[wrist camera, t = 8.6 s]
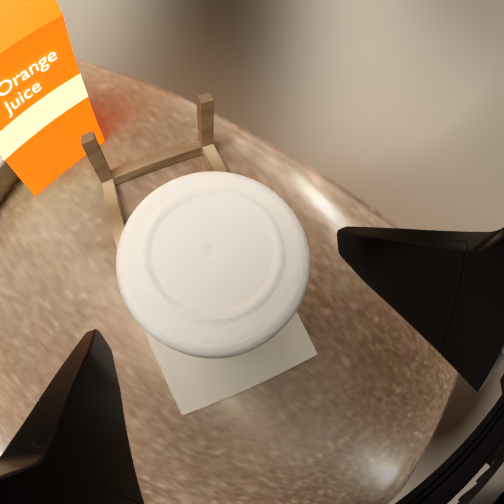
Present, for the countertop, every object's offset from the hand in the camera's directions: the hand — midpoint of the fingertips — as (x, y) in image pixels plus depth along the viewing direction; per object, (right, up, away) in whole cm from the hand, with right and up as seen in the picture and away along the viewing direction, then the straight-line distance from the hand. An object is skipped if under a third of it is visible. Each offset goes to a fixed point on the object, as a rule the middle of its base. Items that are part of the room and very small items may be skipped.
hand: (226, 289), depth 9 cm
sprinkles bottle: (-1, -4, +9) cm, 10 cm away
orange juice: (-19, +12, +14) cm, 26 cm away
